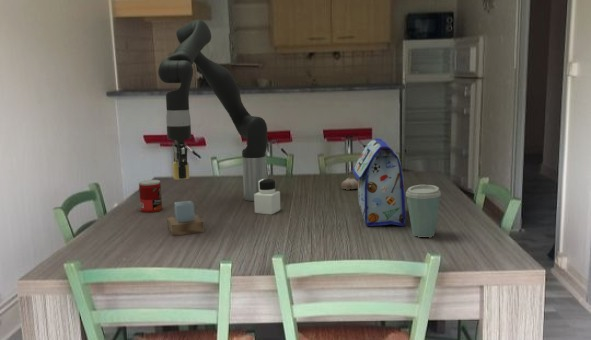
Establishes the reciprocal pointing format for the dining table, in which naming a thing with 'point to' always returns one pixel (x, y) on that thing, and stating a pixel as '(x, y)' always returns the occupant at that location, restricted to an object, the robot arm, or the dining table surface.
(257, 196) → the medicine bottle
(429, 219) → the disposable coffee cup
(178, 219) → the slate cube
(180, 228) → the walnut base
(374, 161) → the lunch bag
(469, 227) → the dining table surface
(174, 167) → the ochre block
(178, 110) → the robot arm
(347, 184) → the garlic bulb
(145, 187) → the canned food
